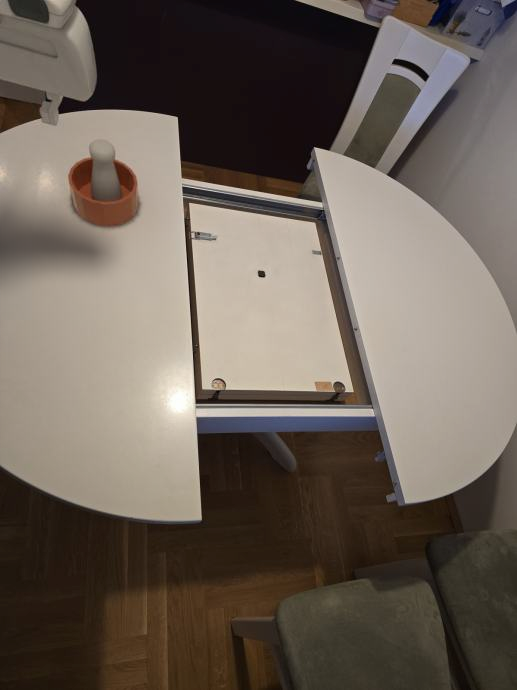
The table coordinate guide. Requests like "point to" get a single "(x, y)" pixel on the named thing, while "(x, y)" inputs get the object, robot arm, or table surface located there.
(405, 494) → the table surface
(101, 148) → the grey rounded piece
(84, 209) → the pot
